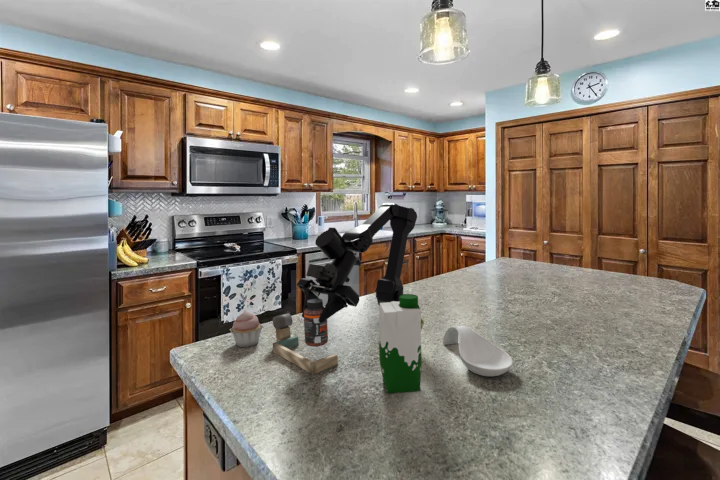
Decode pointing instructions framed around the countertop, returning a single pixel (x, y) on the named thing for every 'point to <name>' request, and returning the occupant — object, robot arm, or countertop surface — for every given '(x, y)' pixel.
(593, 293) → the countertop surface
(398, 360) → the milk carton
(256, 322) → the cupcake
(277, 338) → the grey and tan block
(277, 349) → the frame
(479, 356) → the spoon rest
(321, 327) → the supplement bottle
